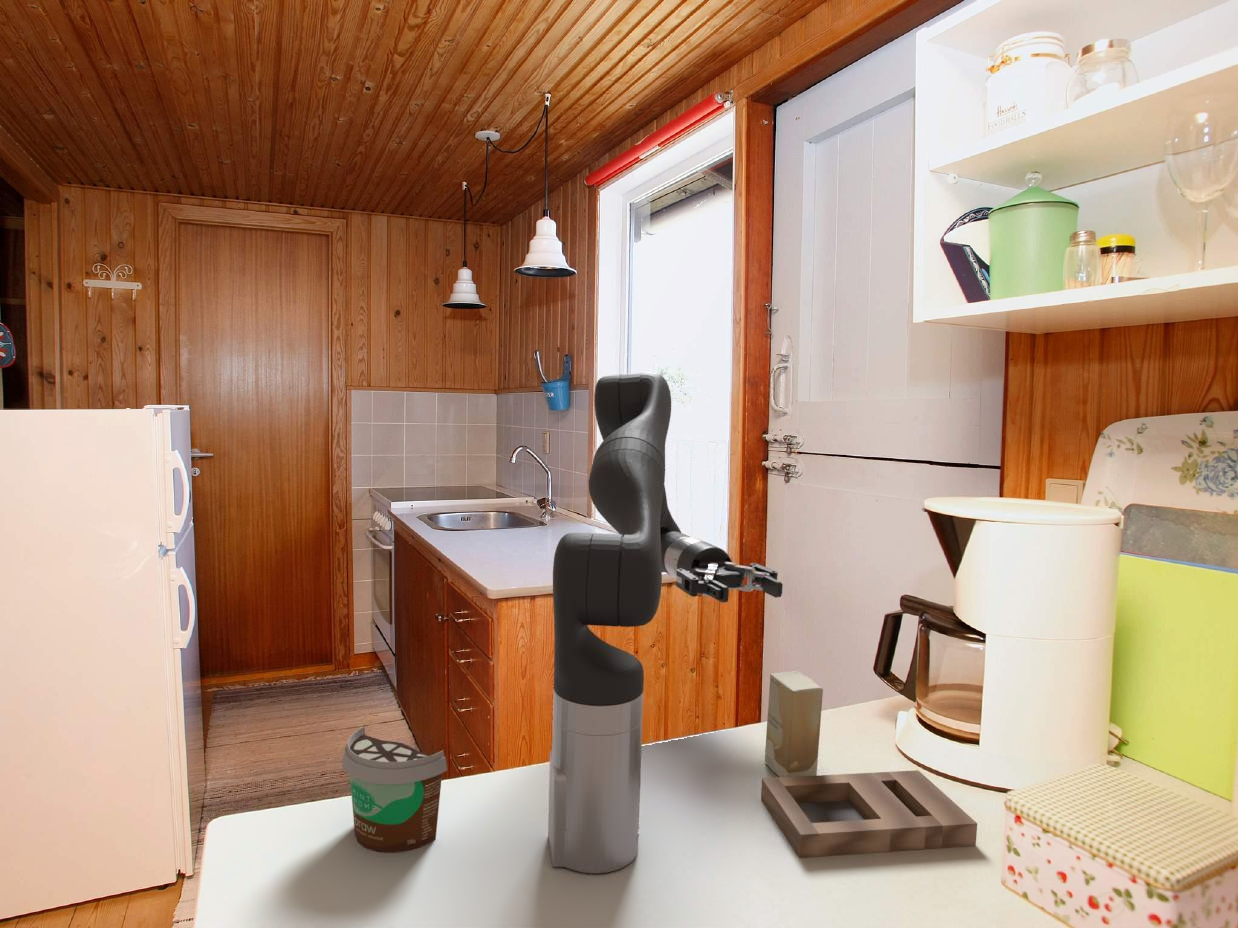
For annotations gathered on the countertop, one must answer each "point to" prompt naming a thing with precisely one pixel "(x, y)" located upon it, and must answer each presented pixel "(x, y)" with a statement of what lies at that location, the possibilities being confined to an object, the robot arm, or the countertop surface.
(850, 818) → the socket plate
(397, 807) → the food container
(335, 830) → the countertop surface
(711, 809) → the countertop surface
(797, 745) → the skincare box
